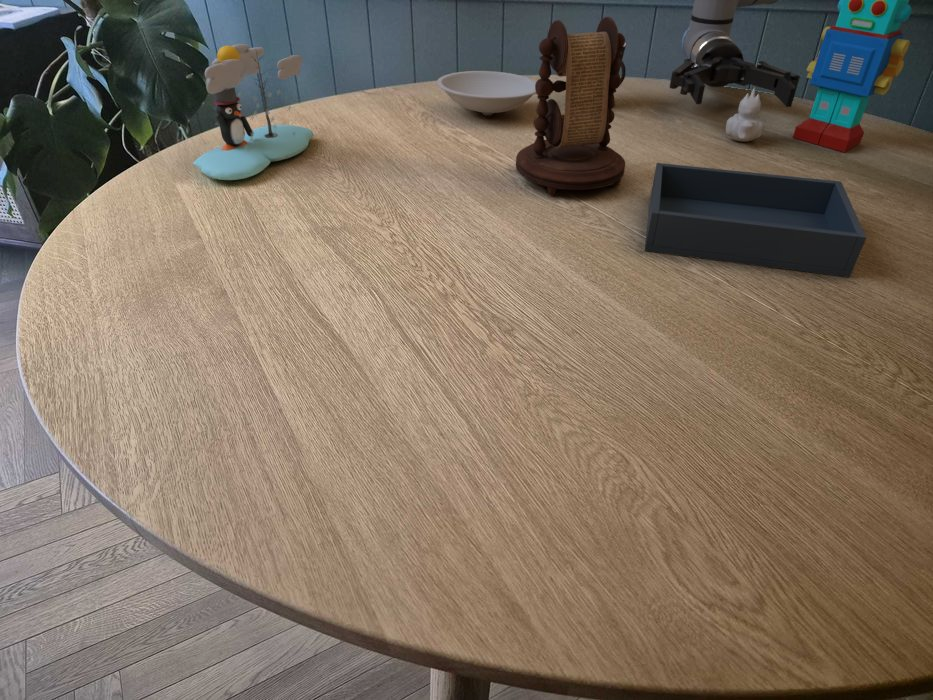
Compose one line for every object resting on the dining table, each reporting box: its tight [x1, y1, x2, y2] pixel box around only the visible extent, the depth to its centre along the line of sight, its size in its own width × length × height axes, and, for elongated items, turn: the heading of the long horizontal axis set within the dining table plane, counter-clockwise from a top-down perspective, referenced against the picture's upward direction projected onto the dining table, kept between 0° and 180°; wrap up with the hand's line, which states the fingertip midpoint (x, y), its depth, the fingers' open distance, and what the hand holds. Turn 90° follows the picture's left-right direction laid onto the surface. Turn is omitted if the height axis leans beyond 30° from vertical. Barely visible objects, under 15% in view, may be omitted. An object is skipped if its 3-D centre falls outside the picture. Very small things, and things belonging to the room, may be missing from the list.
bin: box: [644, 162, 867, 278], centre depth 77 cm, size 22×15×5 cm
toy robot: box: [792, 0, 912, 153], centre depth 95 cm, size 12×6×25 cm, turn 42°
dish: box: [436, 70, 537, 116], centre depth 111 cm, size 18×14×5 cm
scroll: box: [515, 16, 626, 197], centre depth 85 cm, size 15×15×20 cm
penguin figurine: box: [192, 43, 314, 181], centre depth 91 cm, size 20×11×15 cm, turn 152°
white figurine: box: [725, 86, 765, 143], centre depth 100 cm, size 5×7×8 cm
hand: (745, 96), depth 101 cm, fingers open, 13 cm apart
